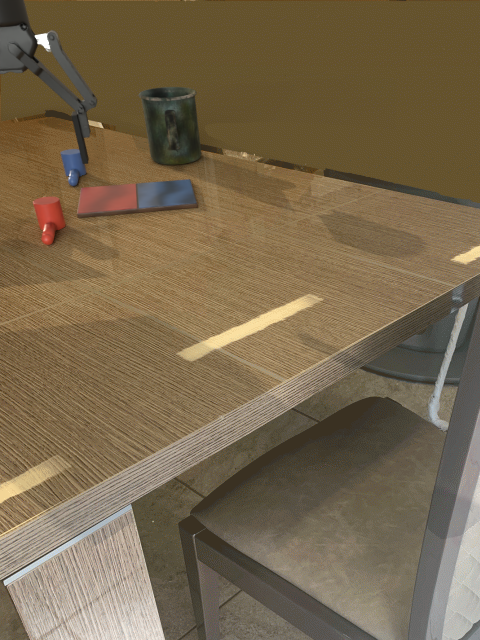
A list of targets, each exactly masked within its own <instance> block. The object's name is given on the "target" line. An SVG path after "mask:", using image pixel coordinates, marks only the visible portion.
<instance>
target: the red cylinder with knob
mask: <svg viewBox="0 0 480 640" xmlns="http://www.w3.org/2000/svg"><path fill="white" fill-rule="evenodd" d="M32 204H33V208H34V212H35V215H36V220H37V222H38V227H39V229H40V230H41V231H42V234H41V238H40V239H41V243H43V244H44V245H45V246H50V245H52V244H53V243H54V239H55V234H56V231H59V230H62V229H64V228H65V227H66V226H67V222H66V220H65V216H64V212H63V208H62V204H61V200H60V198H59V197H57V196H43V197H38V198H36V199H34V200H33V201H32Z"/></svg>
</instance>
